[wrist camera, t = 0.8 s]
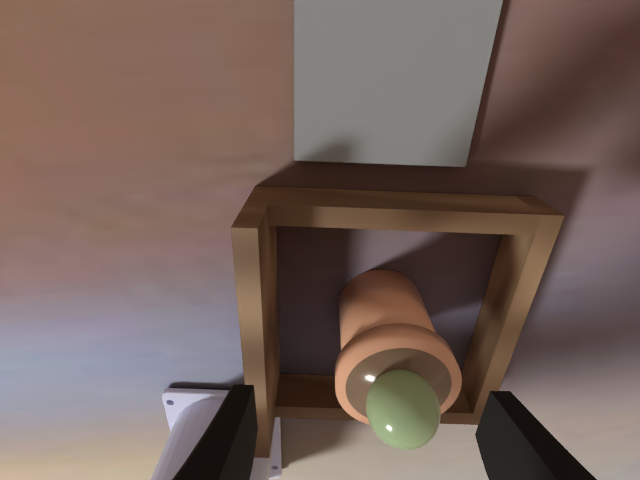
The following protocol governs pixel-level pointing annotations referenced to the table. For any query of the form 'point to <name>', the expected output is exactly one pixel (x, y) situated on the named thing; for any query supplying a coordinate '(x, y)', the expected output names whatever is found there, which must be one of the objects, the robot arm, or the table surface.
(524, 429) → the robot arm
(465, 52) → the slate coaster
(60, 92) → the table surface
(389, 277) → the flower pot
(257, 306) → the frame
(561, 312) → the table surface
